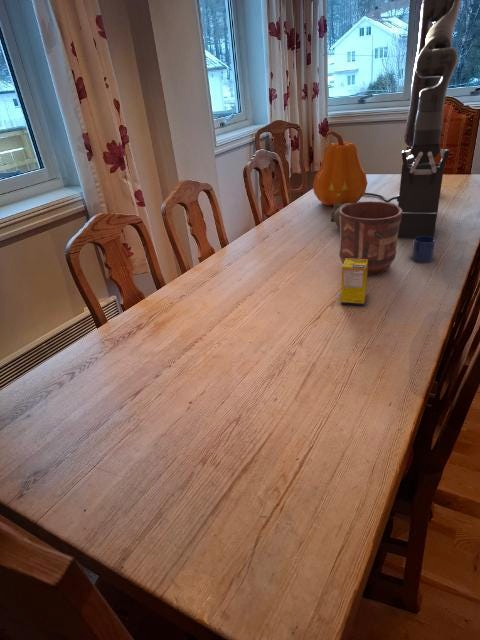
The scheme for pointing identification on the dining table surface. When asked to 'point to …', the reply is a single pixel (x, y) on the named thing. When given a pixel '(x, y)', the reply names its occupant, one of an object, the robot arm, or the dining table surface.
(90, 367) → the dining table surface
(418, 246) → the creamer cup
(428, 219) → the black cube
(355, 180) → the decorative pumpkin
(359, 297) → the supplement box
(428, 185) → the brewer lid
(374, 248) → the pottery
